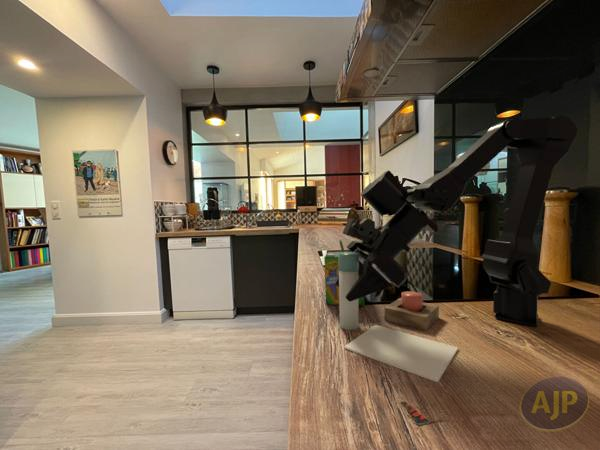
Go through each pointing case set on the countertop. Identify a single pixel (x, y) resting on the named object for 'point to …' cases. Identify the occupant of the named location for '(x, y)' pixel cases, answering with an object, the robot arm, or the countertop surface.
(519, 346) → the countertop surface
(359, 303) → the chalk box
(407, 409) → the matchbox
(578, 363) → the countertop surface
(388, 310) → the button block
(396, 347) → the paper
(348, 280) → the marker
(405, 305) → the button cap
